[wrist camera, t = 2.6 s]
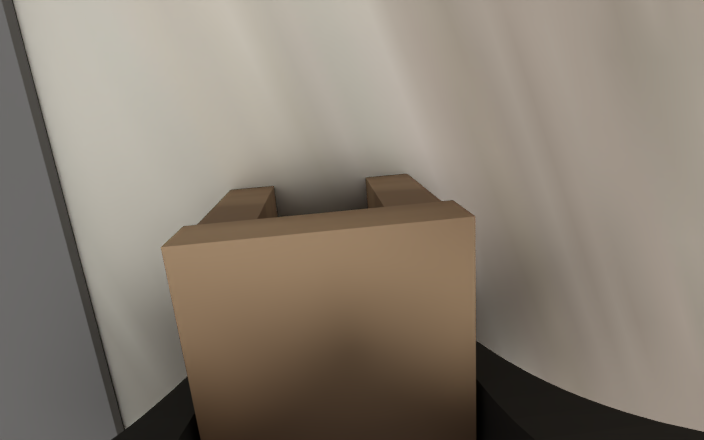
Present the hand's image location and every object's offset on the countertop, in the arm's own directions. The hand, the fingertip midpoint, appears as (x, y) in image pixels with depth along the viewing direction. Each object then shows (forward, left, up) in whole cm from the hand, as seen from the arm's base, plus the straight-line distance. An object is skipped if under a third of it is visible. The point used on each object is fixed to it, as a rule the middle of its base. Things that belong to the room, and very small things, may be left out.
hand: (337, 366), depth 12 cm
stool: (0, 0, -2) cm, 2 cm away
